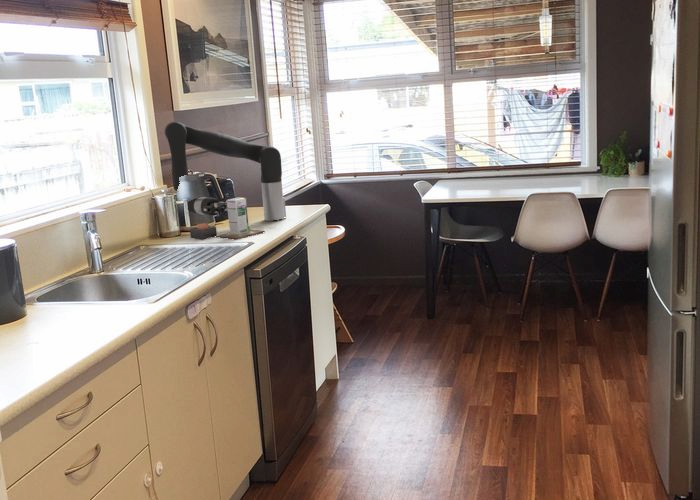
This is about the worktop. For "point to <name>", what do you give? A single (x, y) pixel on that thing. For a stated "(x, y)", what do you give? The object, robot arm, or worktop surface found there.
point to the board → (235, 237)
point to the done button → (202, 226)
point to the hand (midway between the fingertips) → (232, 208)
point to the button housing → (203, 233)
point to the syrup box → (237, 216)
